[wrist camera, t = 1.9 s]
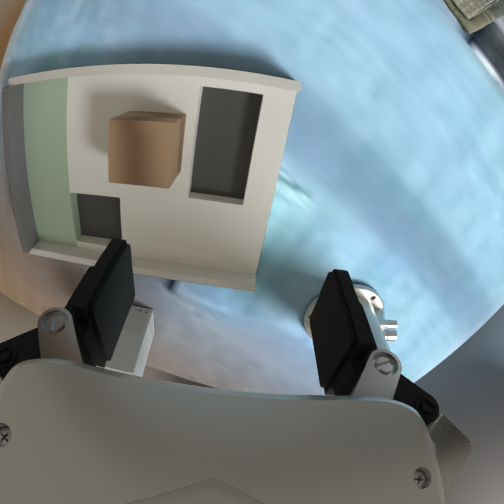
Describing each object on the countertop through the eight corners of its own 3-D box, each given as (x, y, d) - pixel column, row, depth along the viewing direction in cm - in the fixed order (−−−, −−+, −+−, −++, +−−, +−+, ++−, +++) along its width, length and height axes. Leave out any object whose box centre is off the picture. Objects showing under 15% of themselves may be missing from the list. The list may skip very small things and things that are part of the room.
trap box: (295, 81, 26) (304, 82, 22) (254, 270, 40) (254, 296, 35) (28, 74, 23) (2, 79, 19) (42, 238, 37) (25, 257, 32)
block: (186, 114, 26) (174, 123, 22) (180, 170, 30) (168, 188, 26) (129, 110, 26) (108, 119, 22) (127, 165, 29) (108, 182, 25)
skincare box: (128, 303, 43) (103, 365, 33) (153, 308, 44) (134, 372, 34) (131, 328, 47) (111, 387, 37) (155, 333, 47) (138, 394, 37)
